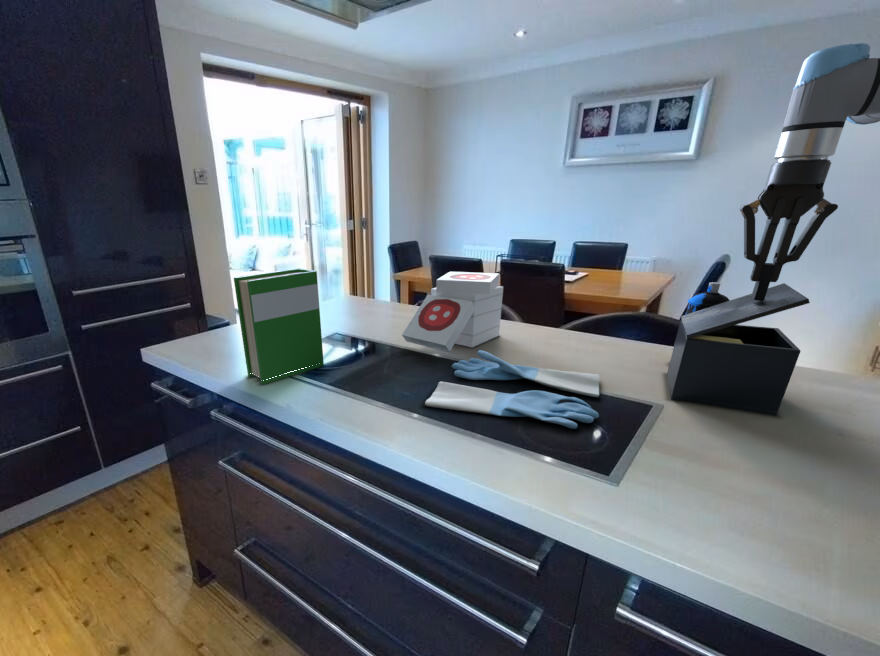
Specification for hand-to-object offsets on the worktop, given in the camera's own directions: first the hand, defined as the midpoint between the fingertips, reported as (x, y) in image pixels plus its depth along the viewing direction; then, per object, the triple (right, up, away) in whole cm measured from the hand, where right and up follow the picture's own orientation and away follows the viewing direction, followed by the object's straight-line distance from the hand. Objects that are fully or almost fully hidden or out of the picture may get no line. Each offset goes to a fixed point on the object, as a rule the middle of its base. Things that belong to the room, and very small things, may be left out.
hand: (757, 298), depth 83 cm
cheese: (+1, -13, +5) cm, 14 cm away
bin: (-1, -18, +9) cm, 20 cm away
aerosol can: (+4, -12, +22) cm, 25 cm away
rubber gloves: (-42, -18, +12) cm, 47 cm away
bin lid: (-2, -2, +2) cm, 4 cm away
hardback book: (-94, -13, +28) cm, 99 cm away
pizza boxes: (-48, -4, +46) cm, 67 cm away
